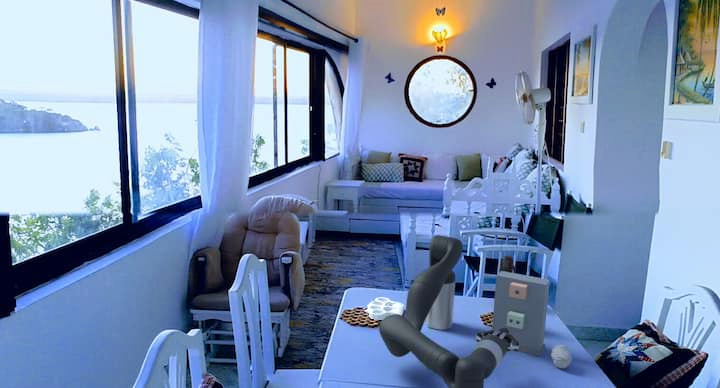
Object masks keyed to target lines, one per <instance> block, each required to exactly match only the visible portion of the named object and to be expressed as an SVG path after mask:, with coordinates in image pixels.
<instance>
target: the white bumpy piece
mask: <svg viewBox="0 0 720 388" xmlns="http://www.w3.org/2000/svg"><path fill="white" fill-rule="evenodd" d="M405 305H406V304H405ZM405 305H404V304H403V303H402V302H399V301H393V300H391V299H390V298H388V297H381V296H380V297H376V298H375V300H373V301H371V302H369V304H367V305H366V306H367V309H365V310H364V312H365V313H367V314H368V313H369V315H368V316H369V317H370V318H371V319H374V320H383V319H384V318H386V317H387V316H389V315H393V314H399V315H402V316H403V314H404V310H405V308H406V306H405ZM369 317H368V318H369Z"/></svg>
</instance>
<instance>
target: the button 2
mask: <svg viewBox="0 0 720 388" xmlns="http://www.w3.org/2000/svg"><path fill="white" fill-rule="evenodd" d="M524 322H525V314H521V313H517V312H512V311H509V313H508V314H507V326H511V327H515V328H519V329H522V328H523V327H524Z"/></svg>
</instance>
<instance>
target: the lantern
mask: <svg viewBox="0 0 720 388" xmlns="http://www.w3.org/2000/svg"><path fill="white" fill-rule="evenodd" d="M509 235H510V236H511V237H512V238H513V240H514V242H515V244H516V247H518V245H517V241H516V239H515V238H514V236H513V235H512V234H511V233H508V234H507V235H506V236H504V237H503V239H502V241H501V242H503V241H504V239H505V238H506V237H508V236H509ZM500 244H501V247H500V249H502V246H503V243H500ZM503 257H504V259H503V260H502V259H501V260H500V266H499V270H498V273H500V272H501V271H505V272H510V273H516V266H517V263H515V264H514V260H513V258H514V257H513V256H511V255H504V256H503ZM515 258H516V260H515V261H517V259H518V257H515Z"/></svg>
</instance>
